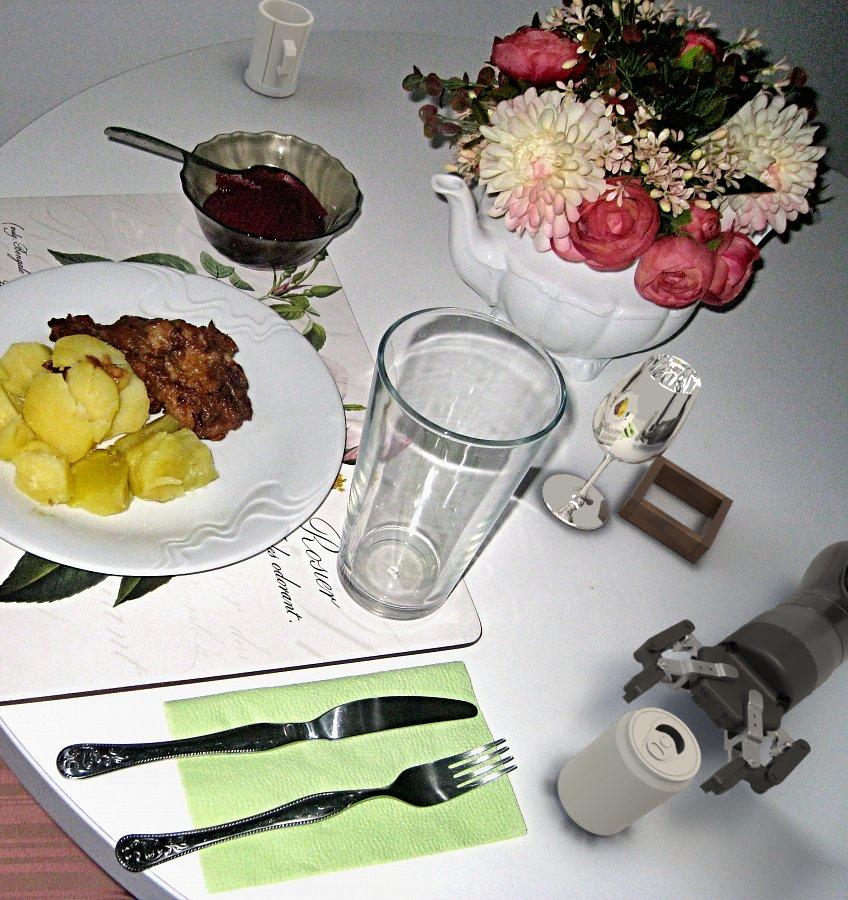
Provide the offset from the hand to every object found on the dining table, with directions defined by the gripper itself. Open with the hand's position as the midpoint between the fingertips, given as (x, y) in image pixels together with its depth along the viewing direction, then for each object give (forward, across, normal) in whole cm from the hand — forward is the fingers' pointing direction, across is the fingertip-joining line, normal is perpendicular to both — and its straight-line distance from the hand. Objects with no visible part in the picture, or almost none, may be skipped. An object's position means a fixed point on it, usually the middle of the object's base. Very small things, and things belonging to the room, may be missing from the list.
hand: (668, 740), depth 73 cm
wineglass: (-19, -24, +7) cm, 31 cm away
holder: (-29, -18, +7) cm, 34 cm away
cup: (-36, -110, +7) cm, 116 cm away
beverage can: (+5, 0, +7) cm, 9 cm away
